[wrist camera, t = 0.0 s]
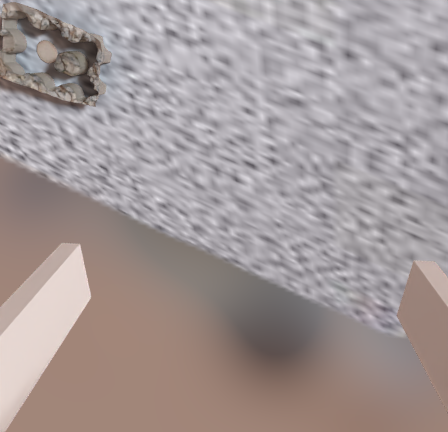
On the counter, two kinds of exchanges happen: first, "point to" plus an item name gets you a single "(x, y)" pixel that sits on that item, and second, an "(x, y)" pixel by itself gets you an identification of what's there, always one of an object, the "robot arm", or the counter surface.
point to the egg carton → (49, 55)
